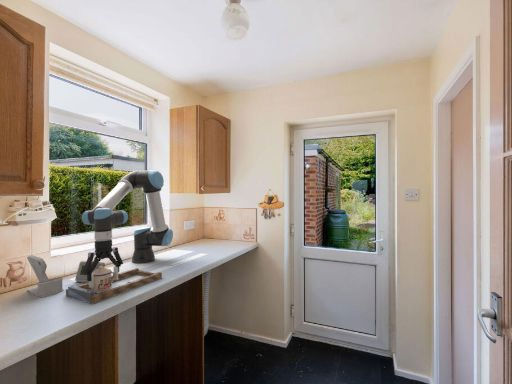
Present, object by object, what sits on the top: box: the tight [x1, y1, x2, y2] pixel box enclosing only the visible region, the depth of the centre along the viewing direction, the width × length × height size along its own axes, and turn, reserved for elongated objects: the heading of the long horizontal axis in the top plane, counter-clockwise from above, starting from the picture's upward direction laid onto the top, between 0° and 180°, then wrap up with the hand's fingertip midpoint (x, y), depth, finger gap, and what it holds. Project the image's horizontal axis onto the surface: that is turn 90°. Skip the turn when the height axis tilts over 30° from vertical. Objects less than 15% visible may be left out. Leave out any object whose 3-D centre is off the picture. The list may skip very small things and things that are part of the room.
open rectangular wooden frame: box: [65, 267, 163, 305], centre depth 140 cm, size 39×21×4 cm, turn 152°
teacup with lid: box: [90, 266, 115, 294], centre depth 133 cm, size 12×9×12 cm
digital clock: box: [74, 260, 106, 284], centre depth 148 cm, size 16×9×11 cm, turn 65°
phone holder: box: [26, 254, 64, 298], centre depth 134 cm, size 17×10×18 cm, turn 57°
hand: (104, 283), depth 133 cm, fingers closed on teacup with lid, 12 cm apart
